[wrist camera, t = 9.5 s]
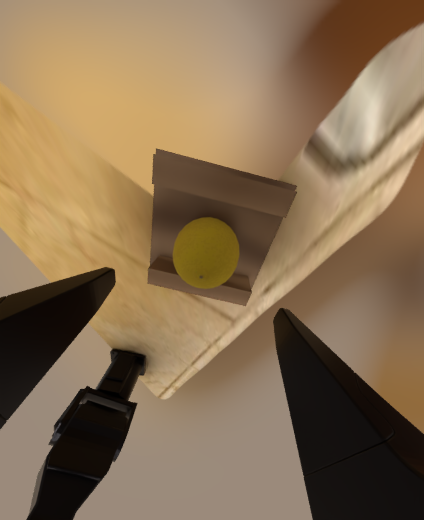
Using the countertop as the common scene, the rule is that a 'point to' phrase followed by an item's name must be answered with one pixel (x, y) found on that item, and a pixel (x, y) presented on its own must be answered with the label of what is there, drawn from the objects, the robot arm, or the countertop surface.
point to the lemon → (206, 253)
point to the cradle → (215, 206)
